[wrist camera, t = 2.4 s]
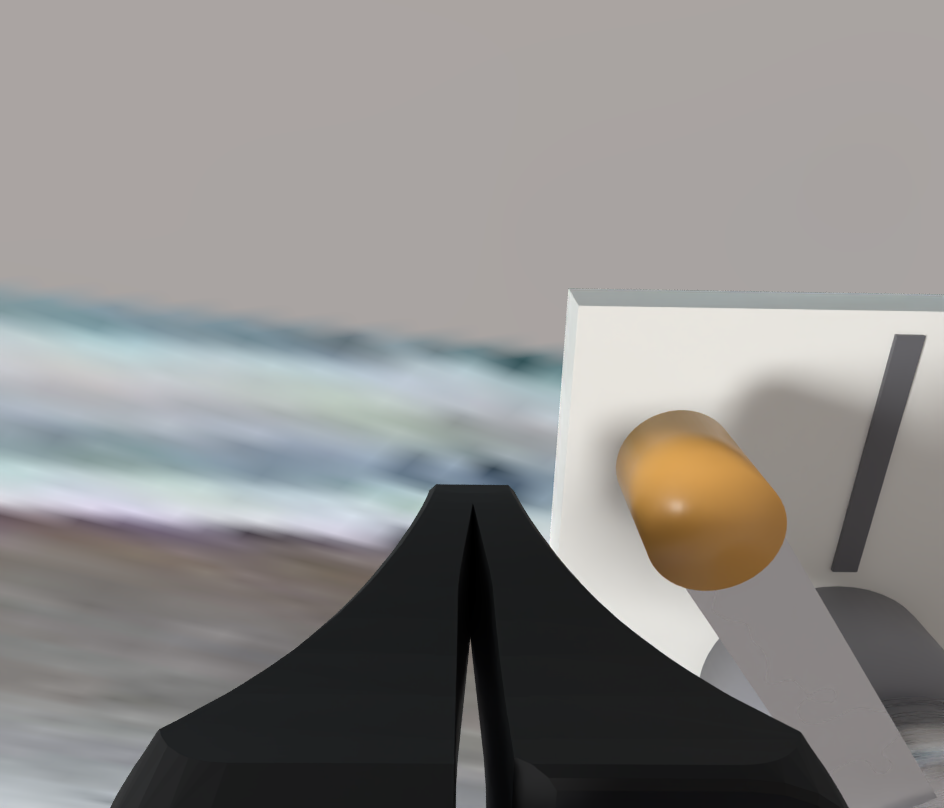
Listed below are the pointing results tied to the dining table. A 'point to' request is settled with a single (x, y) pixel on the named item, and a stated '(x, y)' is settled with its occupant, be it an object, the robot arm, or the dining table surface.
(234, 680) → the dining table surface
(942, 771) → the lever with orange knob
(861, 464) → the board
